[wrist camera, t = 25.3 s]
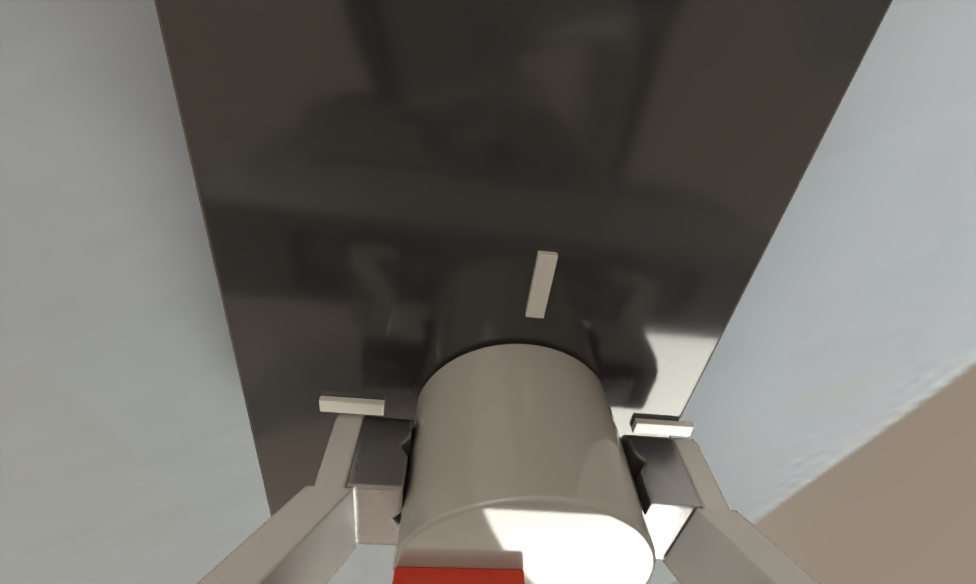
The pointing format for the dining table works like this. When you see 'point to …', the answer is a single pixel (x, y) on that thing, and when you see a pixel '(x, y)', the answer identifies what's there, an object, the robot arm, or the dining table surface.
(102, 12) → the dining table surface
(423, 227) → the hob
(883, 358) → the dining table surface
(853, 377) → the dining table surface
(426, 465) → the knob
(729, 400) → the dining table surface
